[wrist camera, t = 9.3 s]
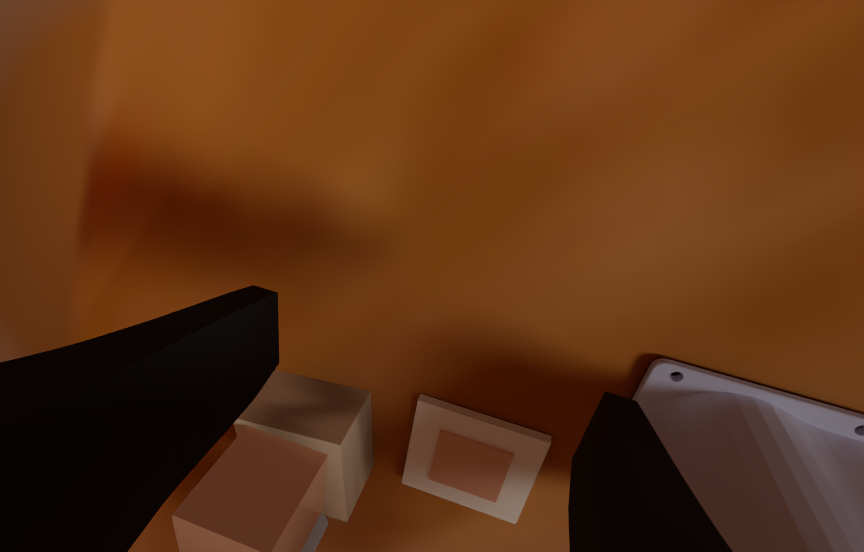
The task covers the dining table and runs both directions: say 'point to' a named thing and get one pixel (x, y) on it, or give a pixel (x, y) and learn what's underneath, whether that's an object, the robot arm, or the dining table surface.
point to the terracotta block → (254, 498)
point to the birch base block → (320, 430)
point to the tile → (473, 458)
